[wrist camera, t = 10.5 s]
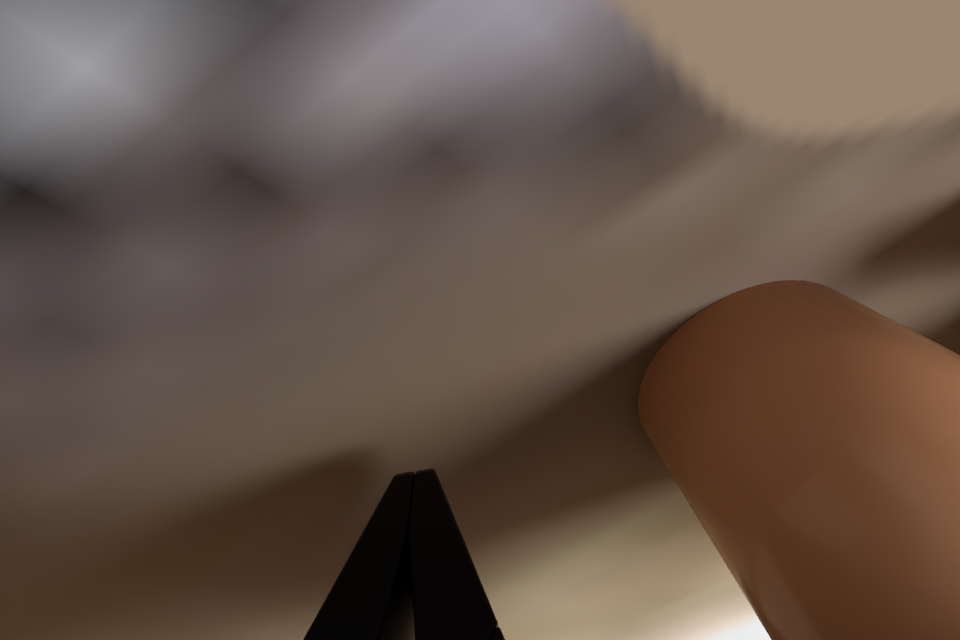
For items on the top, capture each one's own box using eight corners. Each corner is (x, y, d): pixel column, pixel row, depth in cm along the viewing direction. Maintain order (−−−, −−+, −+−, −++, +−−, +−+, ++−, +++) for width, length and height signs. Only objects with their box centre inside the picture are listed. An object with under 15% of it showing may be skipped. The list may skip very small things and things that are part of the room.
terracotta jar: (821, 443, 12) (1255, 848, 6) (623, 475, 12) (844, 928, 5) (906, 255, 9) (2045, 672, 3) (642, 295, 9) (1182, 841, 2)
